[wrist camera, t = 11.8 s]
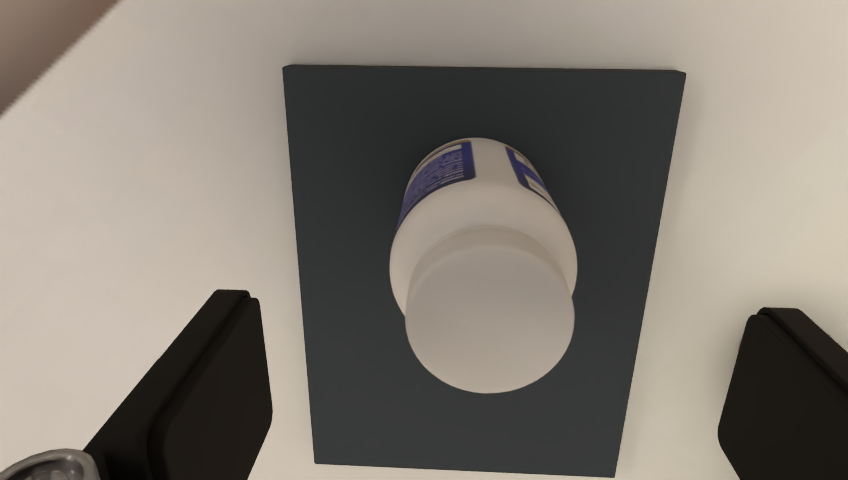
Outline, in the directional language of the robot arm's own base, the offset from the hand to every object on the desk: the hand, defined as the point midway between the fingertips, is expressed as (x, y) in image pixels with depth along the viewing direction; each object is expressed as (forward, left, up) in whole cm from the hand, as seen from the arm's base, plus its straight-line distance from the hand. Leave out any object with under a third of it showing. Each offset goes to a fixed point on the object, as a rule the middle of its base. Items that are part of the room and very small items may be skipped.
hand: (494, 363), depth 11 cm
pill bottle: (0, 0, -11) cm, 11 cm away
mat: (+5, 0, -12) cm, 13 cm away
